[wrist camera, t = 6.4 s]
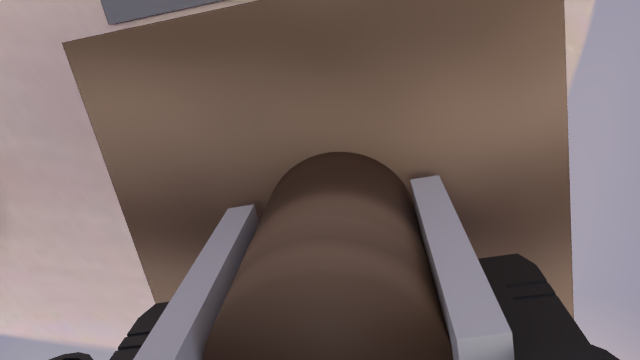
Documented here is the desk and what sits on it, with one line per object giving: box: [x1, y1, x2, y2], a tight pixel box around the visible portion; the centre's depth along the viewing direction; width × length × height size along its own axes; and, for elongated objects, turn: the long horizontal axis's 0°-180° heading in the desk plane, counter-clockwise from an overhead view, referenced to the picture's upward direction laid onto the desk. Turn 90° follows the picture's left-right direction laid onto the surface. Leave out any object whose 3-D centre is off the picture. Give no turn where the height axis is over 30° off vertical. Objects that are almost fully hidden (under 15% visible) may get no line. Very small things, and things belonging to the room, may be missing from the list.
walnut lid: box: [62, 0, 574, 360], centre depth 12 cm, size 13×13×8 cm
